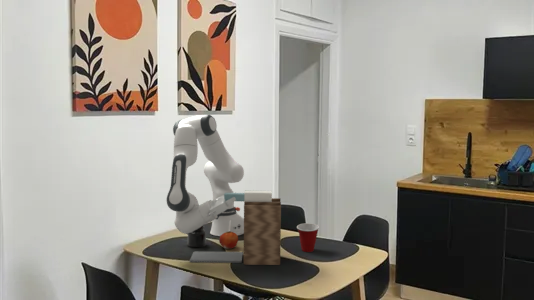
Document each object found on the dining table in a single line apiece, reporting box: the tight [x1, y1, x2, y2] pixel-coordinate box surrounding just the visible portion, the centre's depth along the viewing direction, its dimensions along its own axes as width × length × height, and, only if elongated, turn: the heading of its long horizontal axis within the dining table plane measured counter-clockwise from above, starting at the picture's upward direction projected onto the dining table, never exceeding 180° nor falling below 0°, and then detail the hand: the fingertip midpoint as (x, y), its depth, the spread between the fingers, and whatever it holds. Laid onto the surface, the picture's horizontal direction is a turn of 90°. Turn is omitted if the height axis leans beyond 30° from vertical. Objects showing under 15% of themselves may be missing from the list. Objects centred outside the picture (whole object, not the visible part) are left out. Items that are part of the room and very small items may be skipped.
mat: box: [189, 250, 244, 264], centre depth 231 cm, size 23×13×1 cm, turn 90°
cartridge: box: [224, 190, 273, 202], centre depth 226 cm, size 21×6×5 cm, turn 90°
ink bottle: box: [187, 224, 207, 248], centre depth 249 cm, size 10×9×12 cm
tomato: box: [219, 231, 239, 250], centre depth 246 cm, size 9×9×8 cm
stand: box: [243, 197, 282, 266], centre depth 227 cm, size 16×14×27 cm
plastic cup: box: [296, 222, 320, 253], centre depth 243 cm, size 11×11×12 cm
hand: (236, 196), depth 226 cm, fingers open, 8 cm apart
